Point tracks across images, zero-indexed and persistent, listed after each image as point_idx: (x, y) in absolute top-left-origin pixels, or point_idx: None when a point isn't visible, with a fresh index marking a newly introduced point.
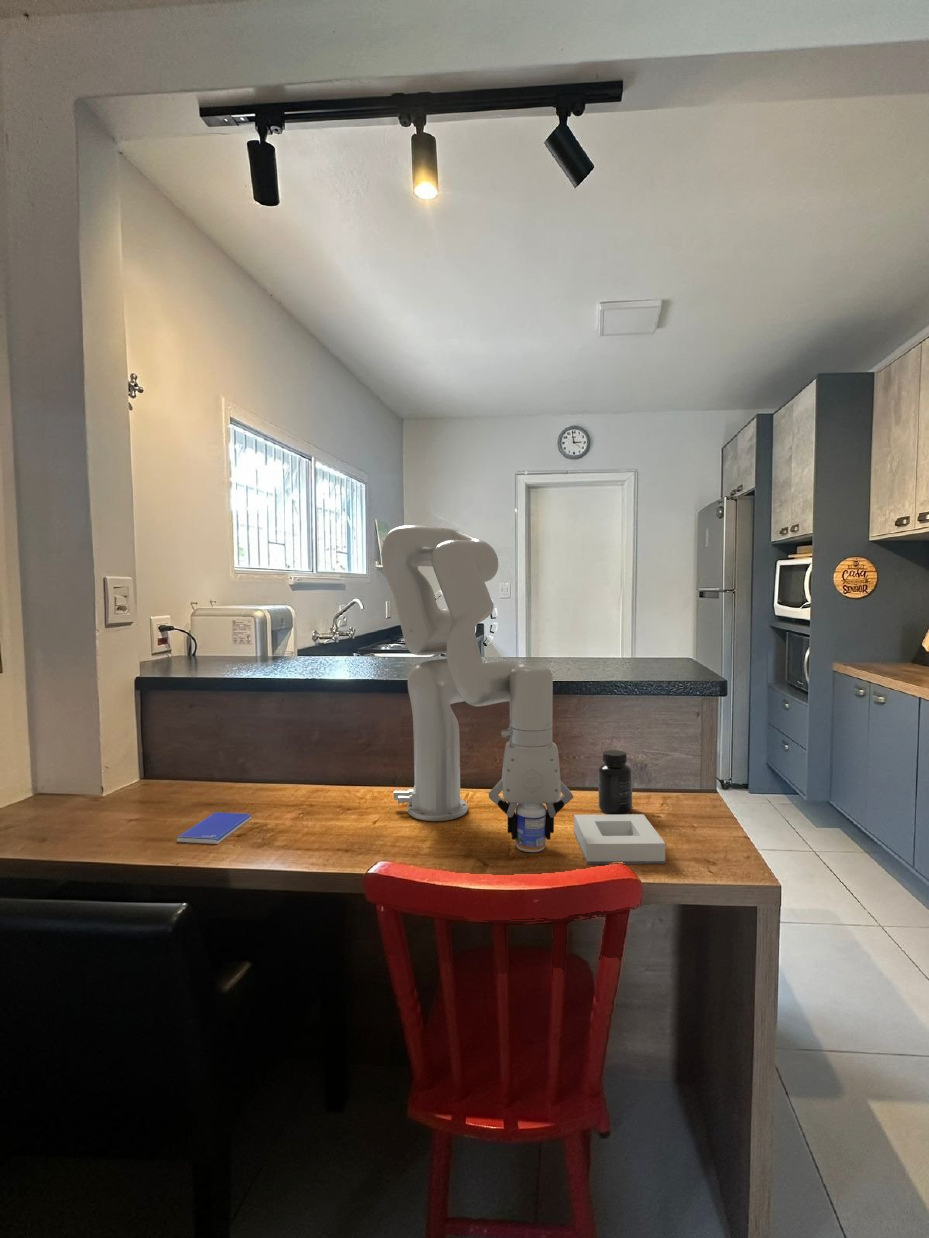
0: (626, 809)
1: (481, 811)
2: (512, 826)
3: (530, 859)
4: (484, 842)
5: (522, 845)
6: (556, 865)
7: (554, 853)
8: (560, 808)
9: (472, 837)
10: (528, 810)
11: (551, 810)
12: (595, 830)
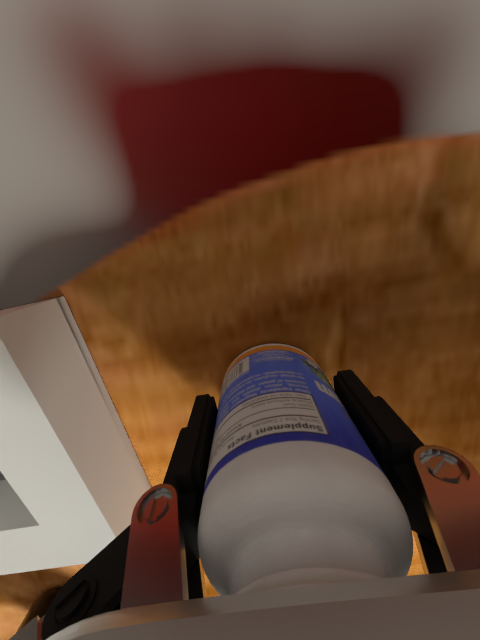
0: (32, 610)
1: (420, 561)
2: (378, 404)
3: (264, 297)
4: (425, 392)
5: (301, 354)
6: (167, 267)
7: (188, 356)
8: (93, 562)
9: (462, 418)
10: (324, 498)
11: (152, 532)
12: (7, 456)
